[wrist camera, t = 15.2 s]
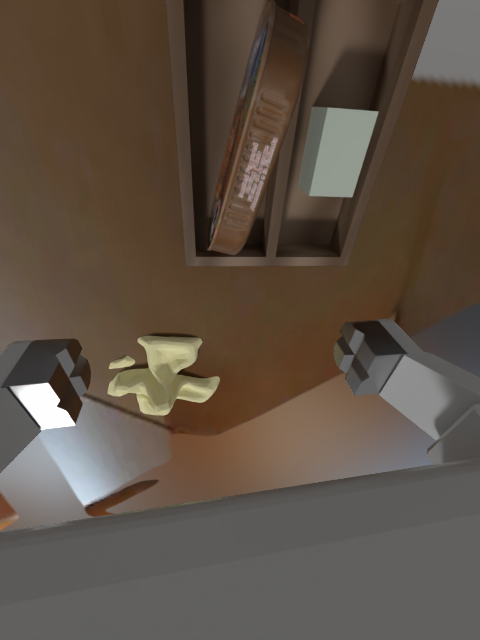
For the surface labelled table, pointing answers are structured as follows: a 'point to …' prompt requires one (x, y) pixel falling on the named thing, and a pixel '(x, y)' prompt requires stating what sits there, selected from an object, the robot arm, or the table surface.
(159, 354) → the cloth
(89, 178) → the table surface
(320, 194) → the sage block
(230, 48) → the caddy
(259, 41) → the tin
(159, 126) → the table surface
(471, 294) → the table surface
